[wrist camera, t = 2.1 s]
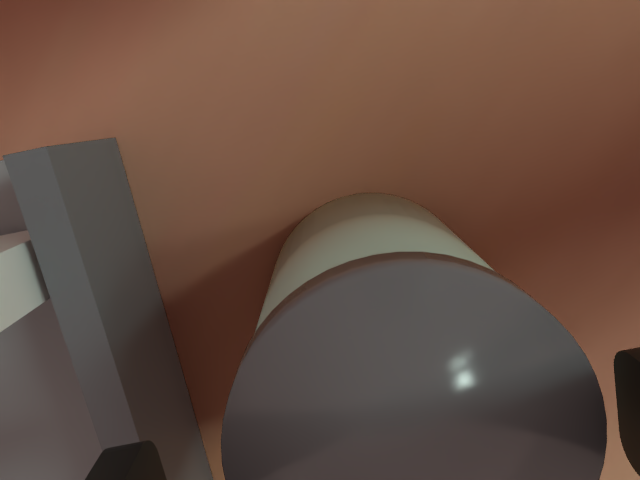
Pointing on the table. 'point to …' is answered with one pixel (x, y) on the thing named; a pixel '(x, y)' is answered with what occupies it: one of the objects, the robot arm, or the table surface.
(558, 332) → the small jar
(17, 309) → the block
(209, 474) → the grey tray
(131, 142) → the table surface
